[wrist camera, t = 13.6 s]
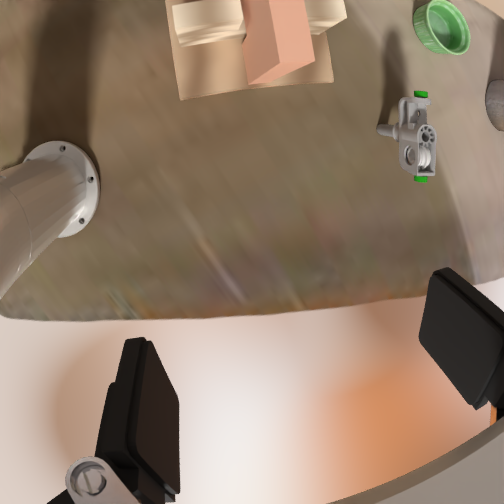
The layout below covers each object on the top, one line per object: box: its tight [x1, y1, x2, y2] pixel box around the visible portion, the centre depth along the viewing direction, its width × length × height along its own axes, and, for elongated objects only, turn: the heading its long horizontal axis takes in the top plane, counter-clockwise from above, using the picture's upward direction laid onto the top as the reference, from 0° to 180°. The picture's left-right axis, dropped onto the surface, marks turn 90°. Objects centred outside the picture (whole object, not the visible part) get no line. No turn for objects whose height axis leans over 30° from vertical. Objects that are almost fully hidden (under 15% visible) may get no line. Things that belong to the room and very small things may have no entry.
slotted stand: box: [165, 0, 347, 101], centre depth 25 cm, size 18×15×10 cm
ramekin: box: [413, 0, 470, 55], centre depth 29 cm, size 9×9×4 cm
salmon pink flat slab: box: [240, 0, 315, 85], centre depth 22 cm, size 14×2×15 cm, turn 8°
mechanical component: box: [377, 91, 437, 182], centre depth 32 cm, size 3×10×10 cm, turn 4°
